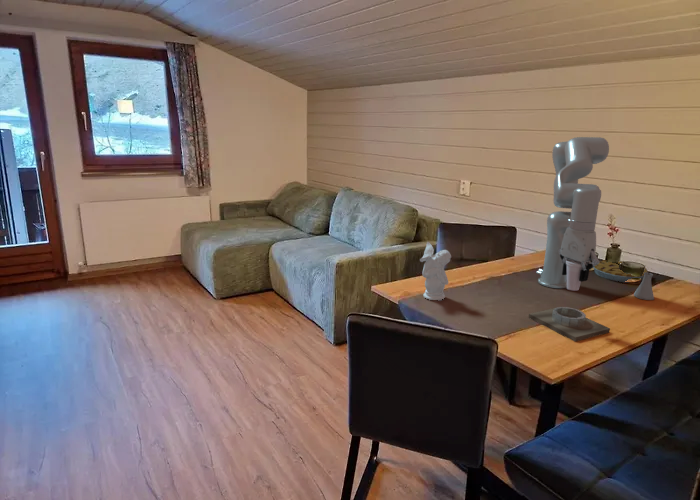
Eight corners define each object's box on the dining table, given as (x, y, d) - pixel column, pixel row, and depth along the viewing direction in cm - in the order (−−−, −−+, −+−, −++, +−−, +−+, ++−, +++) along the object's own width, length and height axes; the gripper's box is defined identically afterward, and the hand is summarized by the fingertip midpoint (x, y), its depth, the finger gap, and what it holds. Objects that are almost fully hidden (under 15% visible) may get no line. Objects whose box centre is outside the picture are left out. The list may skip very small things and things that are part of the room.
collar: (545, 317, 161) (547, 309, 160) (566, 312, 165) (567, 305, 164) (569, 329, 152) (570, 321, 152) (590, 324, 156) (592, 315, 156)
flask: (657, 301, 180) (662, 277, 177) (637, 299, 181) (641, 276, 178) (650, 294, 186) (654, 271, 184) (630, 293, 188) (634, 270, 185)
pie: (610, 265, 223) (612, 255, 222) (657, 279, 205) (659, 268, 203) (581, 272, 213) (582, 262, 212) (627, 287, 195) (629, 276, 193)
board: (528, 317, 165) (528, 313, 164) (560, 310, 171) (561, 306, 171) (574, 341, 147) (575, 337, 147) (609, 332, 154) (610, 328, 153)
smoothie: (581, 286, 157) (587, 247, 153) (584, 293, 151) (590, 252, 148) (561, 284, 159) (566, 245, 156) (563, 290, 153) (568, 250, 150)
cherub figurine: (451, 300, 181) (456, 246, 174) (427, 306, 175) (430, 251, 168) (431, 289, 191) (435, 239, 184) (407, 295, 185) (410, 243, 178)
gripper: (552, 221, 155) (546, 271, 160) (597, 232, 140) (588, 287, 145) (568, 219, 158) (561, 268, 163) (614, 230, 143) (605, 284, 148)
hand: (574, 277), depth 154 cm, fingers closed on smoothie, 6 cm apart
